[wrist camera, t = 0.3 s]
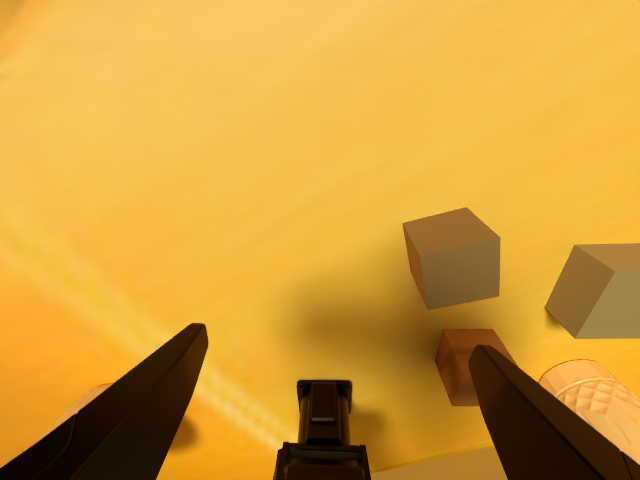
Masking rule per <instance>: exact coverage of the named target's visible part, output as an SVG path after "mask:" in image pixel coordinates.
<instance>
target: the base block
mask: <svg viewBox="0 0 640 480" xmlns="http://www.w3.org/2000/svg"><path fill="white" fill-rule="evenodd" d="M545 308H546V309H547V310H548V312H549V313H550V314H551V315H552V316H553V317H554V318H555V319H556V320H557V321H558V322H559V323H560V324H561V325H562V326H563V327H564V328H565V329H566V330H567V331H568V332H569V333H570V334H571V335H572V336H573V337H574V338H575V339H620V338H640V243H638V244H589V245H574V247H573V249H572V251H571V253H570V255H569V258H568V260H567V262H566V264H565V266H564V268H563V270H562V272H561V274H560V276H559V278H558V280H557V282H556V285H555V287H554V289H553V291H552V293H551V295H550V297H549V299H548V301H547V303H546V305H545Z"/></svg>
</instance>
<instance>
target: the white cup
mask: <svg viewBox="0 0 640 480" xmlns="http://www.w3.org/2000/svg"><path fill="white" fill-rule="evenodd" d="M539 384H540V385H541V386H542V387H544V388H545V389H546V390H547V391H549V392H550V393H551V394H552V395H554V396H555V397H556V398H557V399H559V400H560V401H561V402H562V403H563V404H565V405H566V406H567V407H568V408H570V409H571V410H572V411H573V412H575V413H576V414H577V415H578V416H580V417H581V418H582V419H583V420H585V421H586V422H587V423H588V424H590V425H591V426H592V427H593V428H595V429H596V430H597V431H598V432H599V433H601V434H602V435H603V436H604V437H606V438H607V439H608V440H609V441H611V442H612V443H613V444H614V445H616V446H617V447H618V448H619V449H620V451H623V452H624V453H626V454H627V455H628V456H629V457H631V458H632V459H633V460H634V461H636V462H637V463H638V464H639V465H640V399H639V398H638V397H637V396H635V395H634V394H633V393H632V391H630V390H629V389H628V388H627V387H626V386H624V385H622V384H621V383H620V382H619V381H618V380H617V379H616V378H615V377H614V376H613V375H612V374H611V373H610V372H609V371H608V370H606V369H605V368H604V367H603V366H602V365H601V364H599V363H598V362H596V361H591V360H586V359H582V360H573V361H568V362H565V363H562V364H560V365H557V366H555V367H553V368H552V369H550V370H549V371H547V372H546V373H545V374H544V375H543V377H542V378H541V380H540V381H539Z"/></svg>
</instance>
